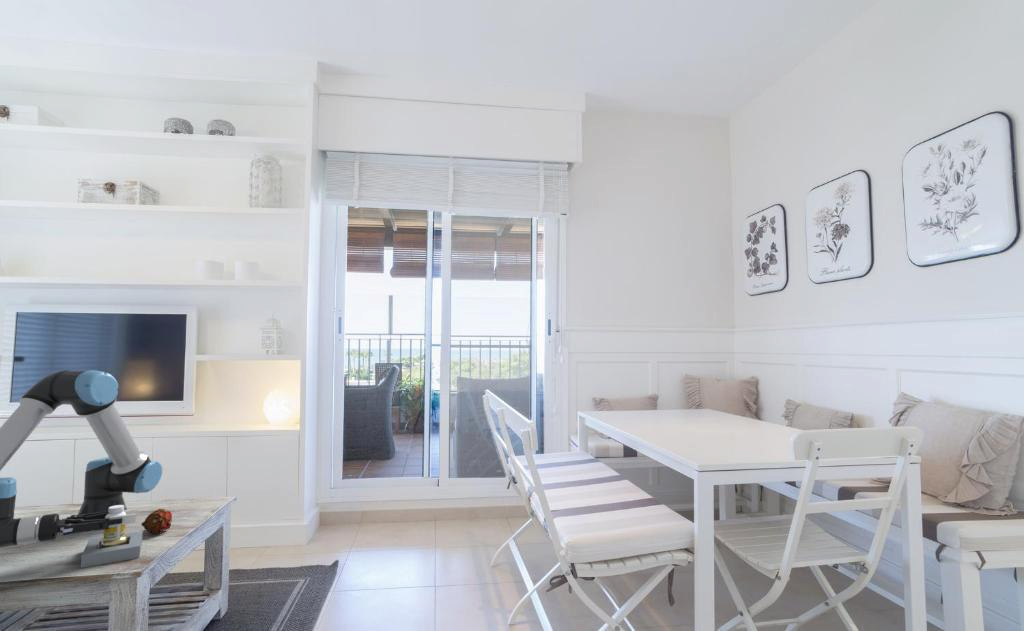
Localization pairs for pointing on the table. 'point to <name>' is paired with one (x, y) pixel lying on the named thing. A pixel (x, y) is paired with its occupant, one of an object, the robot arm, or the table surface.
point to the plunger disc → (114, 542)
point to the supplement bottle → (117, 530)
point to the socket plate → (111, 551)
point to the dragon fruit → (158, 521)
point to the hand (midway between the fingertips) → (136, 515)
